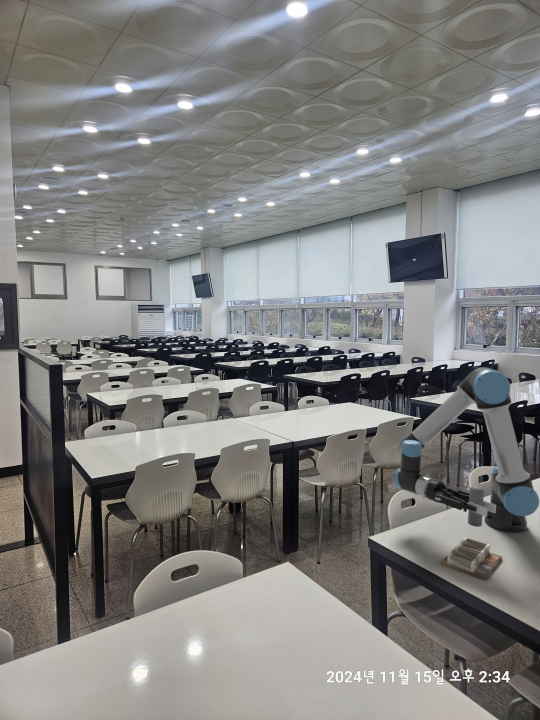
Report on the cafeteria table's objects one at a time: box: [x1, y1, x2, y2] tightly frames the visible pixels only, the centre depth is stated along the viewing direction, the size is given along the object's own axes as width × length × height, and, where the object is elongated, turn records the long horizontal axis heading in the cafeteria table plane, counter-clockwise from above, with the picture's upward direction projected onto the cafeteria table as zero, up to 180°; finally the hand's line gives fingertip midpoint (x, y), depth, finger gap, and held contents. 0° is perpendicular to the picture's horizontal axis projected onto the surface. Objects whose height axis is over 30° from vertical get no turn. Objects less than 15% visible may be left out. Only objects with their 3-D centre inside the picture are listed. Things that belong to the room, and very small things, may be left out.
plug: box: [467, 485, 485, 528], centre depth 159 cm, size 4×4×13 cm
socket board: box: [440, 536, 503, 581], centre depth 156 cm, size 18×14×4 cm
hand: (490, 510), depth 155 cm, fingers closed on plug, 4 cm apart
